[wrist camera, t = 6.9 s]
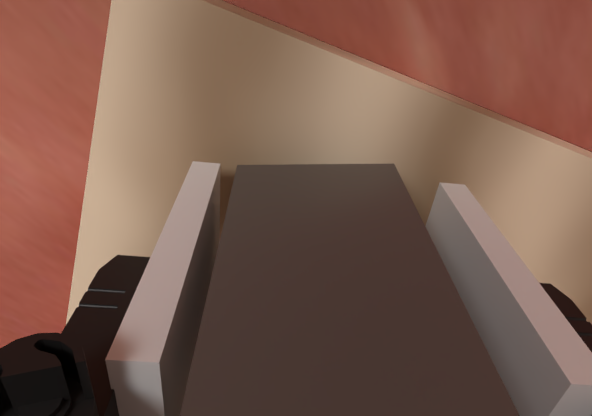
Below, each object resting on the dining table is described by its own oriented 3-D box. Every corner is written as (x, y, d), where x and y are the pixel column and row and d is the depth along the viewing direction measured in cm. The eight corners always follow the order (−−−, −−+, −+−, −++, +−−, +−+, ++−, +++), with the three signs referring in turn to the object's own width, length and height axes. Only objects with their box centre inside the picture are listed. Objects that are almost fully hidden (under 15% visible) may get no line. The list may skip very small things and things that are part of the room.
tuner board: (66, 384, 19) (51, 413, 18) (132, -37, 11) (113, -35, 9) (424, 456, 23) (431, 484, 22) (689, 192, 14) (725, 213, 13)
